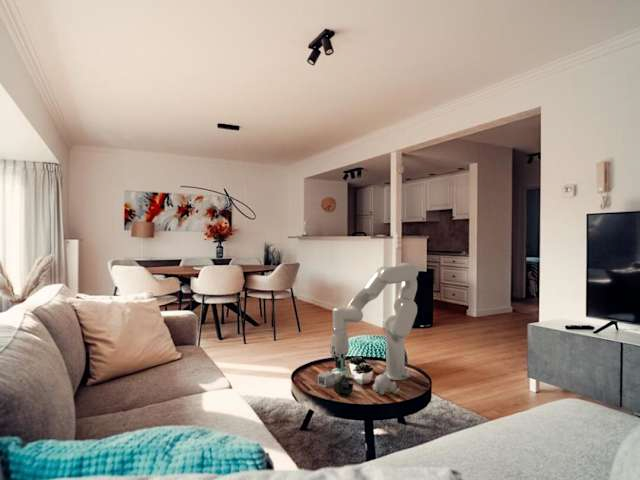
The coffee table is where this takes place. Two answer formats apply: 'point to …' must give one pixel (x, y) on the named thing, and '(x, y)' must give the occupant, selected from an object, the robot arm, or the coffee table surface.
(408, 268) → the robot arm
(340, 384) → the end cap
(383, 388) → the chubby cartoon animal
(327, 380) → the sleeve
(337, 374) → the slip tube
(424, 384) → the coffee table surface
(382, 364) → the coffee table surface
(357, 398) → the coffee table surface
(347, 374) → the socket block
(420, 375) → the coffee table surface
